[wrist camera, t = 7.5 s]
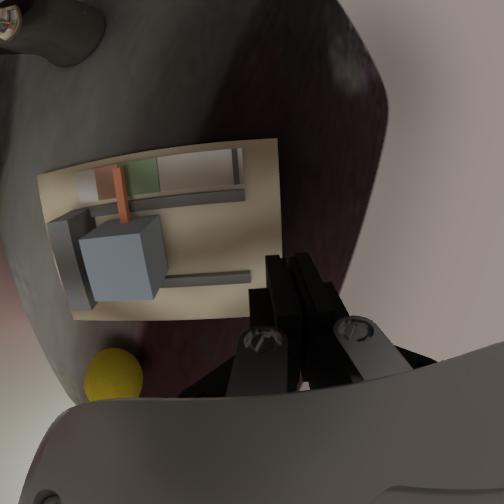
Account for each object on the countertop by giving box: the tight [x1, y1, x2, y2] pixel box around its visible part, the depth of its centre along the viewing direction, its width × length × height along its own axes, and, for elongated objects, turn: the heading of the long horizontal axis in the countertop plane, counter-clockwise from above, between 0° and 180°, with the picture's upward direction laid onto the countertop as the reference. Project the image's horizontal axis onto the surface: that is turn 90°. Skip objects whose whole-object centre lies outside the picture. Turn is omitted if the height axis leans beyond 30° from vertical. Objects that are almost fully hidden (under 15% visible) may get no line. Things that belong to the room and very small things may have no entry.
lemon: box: [84, 348, 143, 402], centre depth 23 cm, size 6×6×8 cm
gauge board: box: [37, 138, 282, 321], centre depth 21 cm, size 14×20×5 cm
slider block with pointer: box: [79, 167, 168, 301], centre depth 19 cm, size 8×4×4 cm, turn 4°
